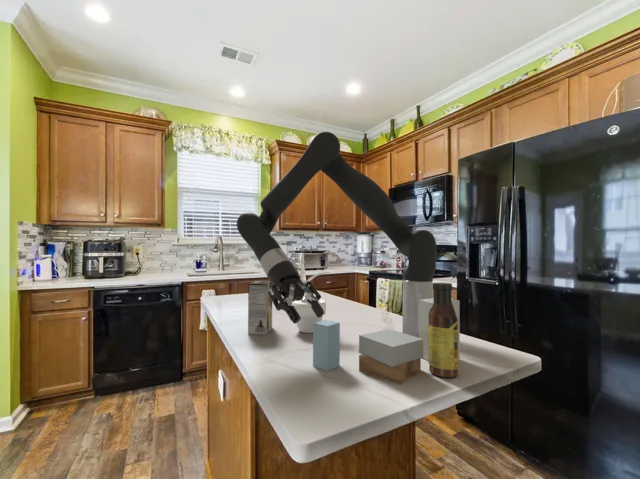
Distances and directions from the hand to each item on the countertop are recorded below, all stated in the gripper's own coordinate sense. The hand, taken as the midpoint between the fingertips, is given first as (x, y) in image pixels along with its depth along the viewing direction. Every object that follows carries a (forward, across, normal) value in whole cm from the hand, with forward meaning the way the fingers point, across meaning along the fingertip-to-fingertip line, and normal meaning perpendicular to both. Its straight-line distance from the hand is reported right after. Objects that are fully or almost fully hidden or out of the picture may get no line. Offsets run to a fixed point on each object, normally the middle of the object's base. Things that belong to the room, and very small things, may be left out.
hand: (310, 318), depth 76 cm
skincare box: (+24, +22, -9) cm, 34 cm away
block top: (+17, +8, -8) cm, 20 cm away
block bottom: (+20, +8, -5) cm, 22 cm away
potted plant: (-5, +19, +20) cm, 28 cm away
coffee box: (-14, +9, +28) cm, 33 cm away
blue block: (+11, 0, +4) cm, 11 cm away
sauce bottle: (+27, +14, -12) cm, 32 cm away
